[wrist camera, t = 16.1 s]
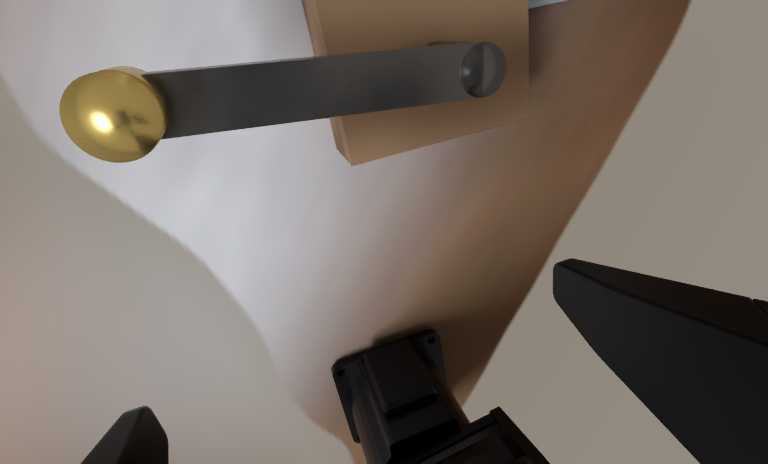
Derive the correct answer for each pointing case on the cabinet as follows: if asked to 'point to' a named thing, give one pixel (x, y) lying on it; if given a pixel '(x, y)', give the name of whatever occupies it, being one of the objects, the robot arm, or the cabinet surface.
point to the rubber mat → (541, 2)
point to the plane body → (416, 29)
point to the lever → (268, 93)
